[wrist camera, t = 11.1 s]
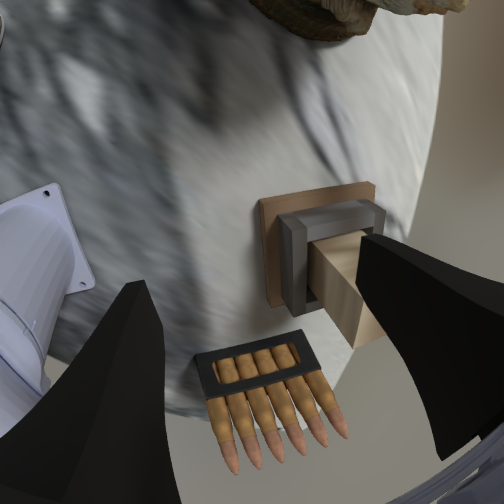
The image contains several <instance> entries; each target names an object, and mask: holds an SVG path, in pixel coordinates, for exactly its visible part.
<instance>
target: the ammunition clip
mask: <svg viewBox="0 0 504 504" xmlns="http://www.w3.org/2000/svg"><path fill="white" fill-rule="evenodd" d="M194 358H195V362H196V366H197V370H198V373H199V377H200V381H201V384H202V388H203V393H204V397H205V401H206V406H207V410H208V414H209V418H210V422H211V425H212V429H213V431H214V434H215V436H216V438H217V441H218V444H219V446H220V449H221V452H222V455H223V457H224V460H225V462H226V464H227V466H228V467H229V469H230V470H231V472H232V473H233V474H234V475H237V474H238V471H239V461H238V454H237V449H236V446H235V440H234V437H233V428H232V422H231V419H230V415H229V412H228V408H229V411H230V414H231V418H232V421H233V424H234V426H235V428H236V430H237V432H238V434H239V436H240V439H241V441H242V444H243V446H244V449H245V451H246V453H247V455H248V457H249V459H250V461H251V462H252V463H253V465H254V466H255V467H256V468H257V469H258V470H259V469H261V466H262V457H261V451H260V446H259V443H258V440H257V435H256V432H255V429H254V420H253V417H252V414H251V411H250V408H249V405H248V402H249V404H250V407H251V410H252V413H253V416H254V418H255V421H256V422H257V424H258V425H259V427H260V429H261V432H262V434H263V436H264V438H265V441H266V443H267V445H268V447H269V448H270V450H271V452H272V454H273V455H274V456H275V458H276V459H277V460H278V461H279V462H280V463H283V462H284V448H283V444H282V440H281V437H280V435H279V432H278V428H277V425H276V422H275V415H274V412H273V410H272V407H271V405H270V402H269V399H270V401H271V404H272V406H273V409H274V411H275V413H276V415H277V417H278V418H279V420H280V421H281V423H282V425H283V427H284V429H285V431H286V433H287V435H288V437H289V439H290V441H291V442H292V444H293V445H294V447H295V448H296V449H297V451H298V452H299V453H300V454H302V455H303V456H305V455H306V443H305V439H304V435H303V433H302V430H301V427H300V425H299V422H298V419H297V416H296V412H295V408H294V405H293V403H292V401H291V398H292V400H293V402H294V404H295V406H296V408H297V410H298V411H299V412H300V414H301V415H302V417H303V419H304V420H305V422H306V423H307V426H308V427H309V429H310V431H311V433H312V434H313V436H314V437H315V439H316V440H317V441H318V442H319V443H320V444H321V445H322V446H324V447H325V448H326V447H328V439H327V434H326V430H325V428H324V425H323V422H322V420H321V418H320V415H319V413H318V411H317V408H316V404H315V401H314V398H315V400H316V402H317V403H318V405H319V406H320V407H321V408H322V410H323V411H324V413H325V415H326V416H327V418H328V420H329V421H330V423H331V424H332V426H333V427H334V429H335V430H336V431H337V432H338V433H339V434H340V435H341V436H342V437H343V438H345V439H347V438H348V429H347V425H346V422H345V419H344V417H343V415H342V413H341V411H340V409H339V406H338V404H337V402H336V400H335V396H334V393H333V391H332V389H331V388H330V386H329V384H328V382H327V380H326V379H325V377H324V375H323V373H322V371H321V366H320V364H319V362H318V360H317V358H316V356H315V354H314V352H313V350H312V348H311V346H310V344H309V342H308V340H307V338H306V336H305V334H304V332H303V330H302V329H299V330H295V331H292V332H288V333H285V334H281V335H277V336H273V337H269V338H266V339H262V340H258V341H254V342H250V343H246V344H241V345H237V346H233V347H228V348H224V349H219V350H215V351H210V352H205V353H200V354H196V355H195V356H194ZM273 358H274V360H275V362H274V360H273ZM275 363H276V364H275ZM255 364H256V365H255ZM276 365H277V367H278V369H279V371H278V369H277V367H276ZM256 366H257V368H256ZM237 369H238V371H237ZM257 369H258V371H259V373H258V371H257ZM218 372H219V375H218ZM238 372H239V375H240V378H241V381H240V378H239V375H238ZM259 374H260V376H259ZM219 376H220V379H219ZM220 380H221V383H222V384H221V383H220ZM306 383H307V384H306ZM307 385H308V386H307ZM308 387H309V388H308ZM287 389H288V391H289V393H290V395H291V398H290V396H289V394H288V392H287ZM309 389H310V390H309ZM310 391H311V392H310ZM311 393H312V394H311ZM267 395H268V396H269V399H268V397H267ZM312 395H313V396H314V398H313V396H312ZM247 400H248V402H247ZM227 405H228V408H227Z"/></svg>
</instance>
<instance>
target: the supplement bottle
mask: <svg viewBox="0 0 504 504" xmlns="http://www.w3.org/2000/svg"><path fill="white" fill-rule="evenodd" d="M3 34H4V19H3V17H2V15H1V14H0V45H1V42H2V38H3Z"/></svg>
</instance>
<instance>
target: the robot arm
mask: <svg viewBox="0 0 504 504" xmlns="http://www.w3.org/2000/svg"><path fill="white" fill-rule="evenodd" d="M46 190H47V191H49V193H50V196H46V194H45V191H46ZM81 282H84V283H85V285H83V284H82V283H81ZM95 282H96V281H95V278H94V276H93V273H92V271H91V269H90V267H89V264H88V262H87V260H86V257H85V255H84V252H83V250H82V247H81V245H80V242H79V240H78V237H77V235H76V232H75V229H74V226H73V224H72V221H71V218H70V215H69V212H68V209H67V206H66V203H65V200H64V197H63V194H62V191H61V188H60V186H59V185H58V184H57V183H51V184H49V185H46V186H43V187H41V188H38V189H36V190H33V191H31V192H28V193H26V194H23V195H21V196H19V197H16V198H14V199H12V200H9V201H7V202H5V203H3V204H0V504H182V503H181V500H180V496H179V492H178V489H177V485H176V481H175V477H174V472H173V468H172V463H171V458H170V452H169V447H168V441H167V433H166V426H165V412H164V387H165V346H164V335H163V325H162V323H161V321H160V318H159V316H158V313H157V311H156V309H155V306H154V304H153V301H152V299H151V296H150V294H149V291H148V288H147V286H146V283H145V280H140V281H134V282H129V283H126V284H125V286H124V287H123V288H122V290H121V291H120V293H119V294H118V296H117V297H116V299H115V300H114V302H113V303H112V305H111V306H110V308H109V309H108V311H107V312H106V314H105V315H104V317H103V318H102V320H101V321H100V323H99V324H98V326H97V328H96V329H95V330H94V332H93V333H92V335H91V336H90V338H89V339H88V340H87V342H86V343H85V345H84V346H83V348H82V349H81V350H80V352H79V353H78V355H77V356H76V357H75V359H74V360H73V361H72V363H71V364H70V365H69V367H68V368H67V369H66V370H65V372H64V373H63V374H62V375H61V377H60V378H59V379H58V380H57V382H56V383H55V384H54V385H53V386H52V388H50V385H51V381H50V379H49V378H48V377H47V376H46V374H45V372H44V364H45V360H46V356H47V352H48V348H49V345H50V341H51V337H52V334H53V330H54V327H55V324H56V321H57V317H58V314H59V311H60V308H61V305H62V302H63V299H64V297H65V295H66V294H70V293H75V292H79V291H83V290H87V289H91V288H93V287H94V286H95ZM355 284H356V286H357V288H358V290H359V292H360V294H361V296H362V298H363V300H364V302H365V304H366V305H367V307H368V308H369V310H370V311H371V313H372V314H373V316H374V317H375V319H376V320H377V321H378V323H379V324H380V326H381V327H382V329H383V330H384V331H385V333H386V334H387V336H388V337H389V338H390V340H391V341H392V343H393V344H394V346H395V347H396V349H397V350H398V352H399V353H400V355H401V357H402V358H403V360H404V362H405V364H406V366H407V368H408V370H409V372H410V374H411V376H412V378H413V380H414V383H415V385H416V387H417V389H418V392H419V394H420V397H421V399H422V402H423V405H424V407H425V410H426V413H427V416H428V419H429V422H430V426H431V429H432V433H433V437H434V441H435V446H436V451H437V454H438V456H439V457H440V459H441V461H443V460H445V459H446V458H448V457H449V456H451V455H452V454H453V453H455V452H456V451H458V450H459V449H460V448H462V447H463V446H464V445H466V444H467V443H468V442H470V441H471V440H472V439H473V438H475V437H476V436H477V435H479V437H480V439H481V441H480V442H479V443H478V444H477V445H476V446H474V447H473V448H472V449H471V450H469V451H468V452H467V453H466V454H464V455H463V456H462V457H460V458H459V459H458V460H457V461H455V462H454V463H452V464H451V465H449V466H448V467H447V468H445V469H444V470H442V471H441V472H439V473H438V474H436V475H435V476H433V477H432V478H430V479H429V480H427V481H426V482H424V483H422V484H421V485H419V486H417V487H415V488H414V489H412V490H410V491H409V492H407V493H405V494H403V495H401V496H399V497H397V498H396V499H394V500H392V501H390V502H388V503H386V504H429V503H431V502H433V501H434V500H436V499H437V498H439V497H440V496H441V495H443V494H444V493H446V492H447V491H448V492H447V493H446V494H445V495H444V496H442V497H441V498H440V499H439V500H438V501H437V504H504V284H503V283H500V282H496V281H493V280H490V279H487V278H484V277H481V276H478V275H475V274H472V273H469V272H466V271H464V270H461V269H459V268H457V267H454V266H452V265H450V264H447V263H445V262H442V261H440V260H438V259H435V258H433V257H431V256H429V255H427V254H424V253H422V252H420V251H418V250H416V249H414V248H411V247H409V246H407V245H405V244H403V243H400V242H398V241H396V240H393V239H391V238H388V237H386V236H383V235H380V234H377V233H374V234H369V235H365V236H361V243H360V251H359V259H358V266H357V273H356V280H355ZM478 467H479V470H478V472H477V473H476V474H474V475H473V476H471V477H469V478H467V479H466V480H464V479H465V478H466V477H467V476H469V475H470V474H471V473H472V472H473V471H475V470H476V469H477V468H478ZM462 480H464V481H462ZM461 481H462V482H461ZM460 482H461V483H460ZM458 483H459V484H458ZM457 484H458V485H457ZM454 486H455V487H454Z"/></svg>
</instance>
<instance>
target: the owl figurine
mask: <svg viewBox="0 0 504 504" xmlns="http://www.w3.org/2000/svg"><path fill="white" fill-rule="evenodd" d="M469 1H470V0H249V2H250V3H252V5H254V6H255V7H257V8H258V9H259V10H260V12H262V13H263V14H264V15H265V16H266V17H268V19H273V20H274V21H275V22H278V23H279V24H282V25H284V26H286V27H287V28H288V30H289V31H290V32H292V33H294V34H296V35H298V36H301V37H303V38H307V39H311V40H312V39H313V40H321V41H341V40H343V39H347V38H350V37H352V36H355V35H357V36H359V35H365V34H367V32H368V30H369V29H370V26H371V23H372V20H373V17H374V15H375V13H376V12H377V9H378V8H379V7H380V8H382V9H385V10H388V11H391V12H393V13H394V14H398V15H411V14H421V15H427V14H429V13H432V14H433V13H437V14H440V15H445V14H446V12H447V10H450V11H454V12H458V13H460V12H461V11H462V10H464V9H465V7H467V5H468V3H469Z"/></svg>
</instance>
